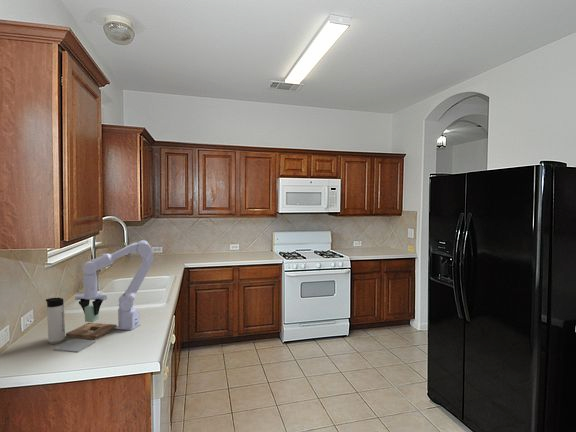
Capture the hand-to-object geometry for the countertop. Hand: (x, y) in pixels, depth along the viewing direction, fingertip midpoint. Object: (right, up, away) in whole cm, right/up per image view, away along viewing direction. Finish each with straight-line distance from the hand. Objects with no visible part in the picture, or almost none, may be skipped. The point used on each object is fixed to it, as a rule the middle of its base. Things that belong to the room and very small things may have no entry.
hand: (91, 314), depth 165 cm
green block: (0, -3, 0) cm, 3 cm away
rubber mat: (+1, -10, -15) cm, 18 cm away
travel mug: (-10, -10, -10) cm, 17 cm away
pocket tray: (0, -9, +1) cm, 9 cm away
